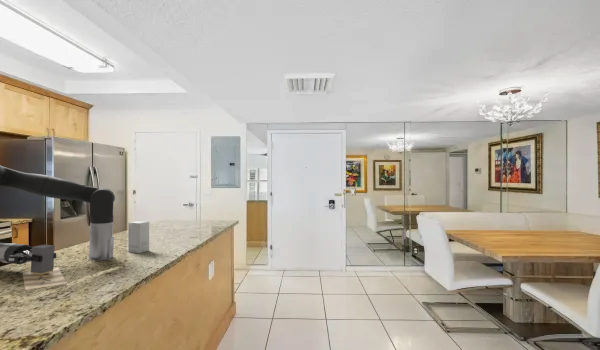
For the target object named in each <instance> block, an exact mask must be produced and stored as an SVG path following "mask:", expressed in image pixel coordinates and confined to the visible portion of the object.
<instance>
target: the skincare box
mask: <svg viewBox="0 0 600 350" xmlns="http://www.w3.org/2000/svg"><path fill="white" fill-rule="evenodd" d="M127 225H128V229H127V230H128V233H127V234H128V235H127V236H128V240H127V241H128V245H127V247H128V248H127V249H128V251H127V252H128V253H137V254H138V253H139V254H141V253H145V252H149V251H150V221H143V220H138V221H137V220H136V221H135V220H134V221H129V222H128V224H127Z"/></svg>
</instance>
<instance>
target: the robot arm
mask: <svg viewBox="0 0 600 350" xmlns="http://www.w3.org/2000/svg"><path fill="white" fill-rule="evenodd" d="M0 187H6V188H7V187H8V188H12V189H13V188H14V189H18V190H21V191H24V192H27V193H30V194H33V195H38V196H40V197H41V196H43V197H47V198H52V199H59V200H71V201H80V202H85V203H88V204H89V218H90V219H89V244H88V260H90V261H91V260H92V261H93V260H94V261H105V260H111V259H112V258H113V257H114V245H115V239H114V238H115V236H114V235H113V234H114V232H113V231H114V202H115V200H116V199H115V198H116V194H114V192H113V191H112V190H111V189H109V188H103V187H102V188H101V187H96V186H95V187H94V186H89V185H83V184H80V183H76V182H74V181H70V180H66V179H64V178H61V177H55V176H51V175H46V174H40V173H29V172H23V171H20V170H19V171H18V170H16V169H12V168H8V167H5V166H2V165H0ZM32 247H33V246H30V245H29V244H23V243H15V242H12V243H7V242H2V241H0V262H2V263H5V264H14V265H23V264H26V263H31V262H33V261H34V262H42V261H43V256H39V255H32ZM56 258H57V252H54V259H56Z"/></svg>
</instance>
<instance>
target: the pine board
mask: <svg viewBox="0 0 600 350" xmlns="http://www.w3.org/2000/svg"><path fill="white" fill-rule="evenodd" d="M22 278H23V283H24V289H25V291H30V290H35V289H43V288H47V287H49V288H48V289H46V291H49V290H54V289H60V288H66V287H68V282H67V280H66V279H65V277H64V275H63V273H62V271H61V269H60V268H59V267H53V272H49V273H46V274H42V275H38V274H31V270H30V271H25V272H22ZM50 287H51V288H50Z"/></svg>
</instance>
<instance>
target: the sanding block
mask: <svg viewBox="0 0 600 350" xmlns="http://www.w3.org/2000/svg"><path fill="white" fill-rule="evenodd" d="M31 247H32V255H39V256H43V261H42V262H34V261H33V262H30V271H31V274H38V275H42V274H46V273H49V272H53V268H55V267H54V264H55V262H54V261H55V258H54V253H55V245H54V244H53V245H52V244H51V245H50V244H40V245H35V246H31Z"/></svg>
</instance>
